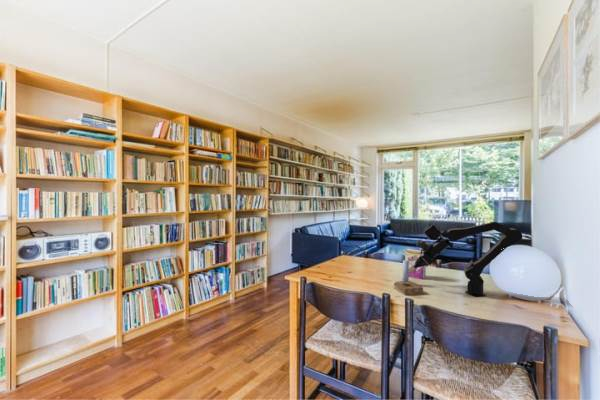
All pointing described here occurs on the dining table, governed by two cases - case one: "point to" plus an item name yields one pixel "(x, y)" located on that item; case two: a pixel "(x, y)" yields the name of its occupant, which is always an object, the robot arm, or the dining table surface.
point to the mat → (409, 281)
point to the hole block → (408, 288)
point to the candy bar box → (412, 257)
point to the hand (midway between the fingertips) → (414, 265)
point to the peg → (405, 271)
